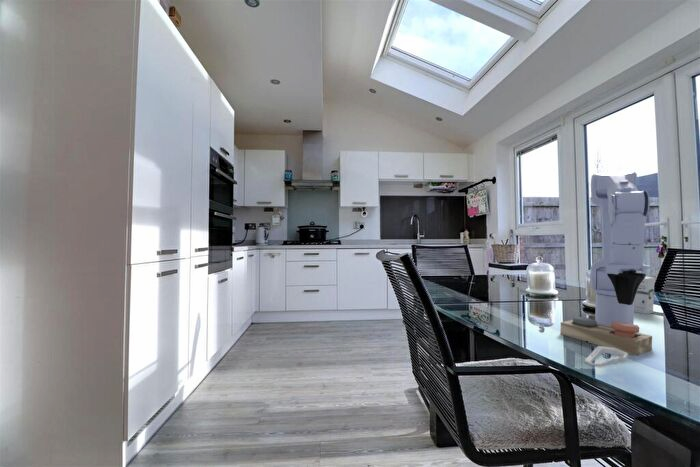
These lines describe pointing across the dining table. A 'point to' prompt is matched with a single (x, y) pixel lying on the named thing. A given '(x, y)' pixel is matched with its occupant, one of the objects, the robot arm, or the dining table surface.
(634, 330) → the brick plug
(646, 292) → the ink box
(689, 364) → the dining table surface
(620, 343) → the socket block
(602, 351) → the stepped key frame
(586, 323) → the grey plug
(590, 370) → the dining table surface
